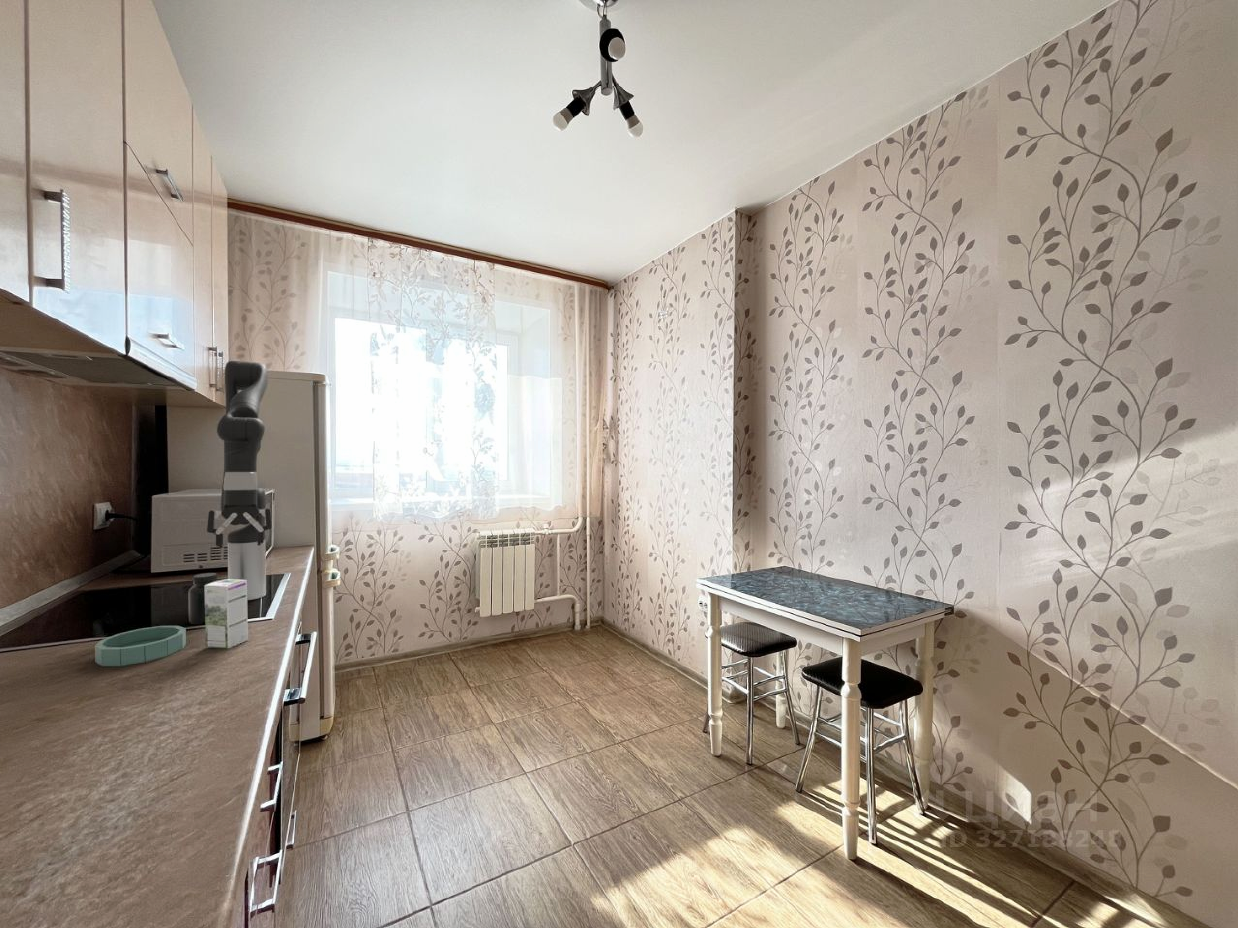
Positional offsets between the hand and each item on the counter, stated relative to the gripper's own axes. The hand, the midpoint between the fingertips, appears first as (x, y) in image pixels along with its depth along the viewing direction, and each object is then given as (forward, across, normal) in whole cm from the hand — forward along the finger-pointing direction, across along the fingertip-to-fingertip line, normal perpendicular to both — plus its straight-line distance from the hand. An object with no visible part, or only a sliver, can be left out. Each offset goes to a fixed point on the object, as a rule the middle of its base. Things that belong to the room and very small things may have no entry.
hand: (240, 546), depth 140 cm
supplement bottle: (+18, +7, +5) cm, 20 cm away
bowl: (+19, +16, +24) cm, 35 cm away
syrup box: (+20, +1, +28) cm, 34 cm away
